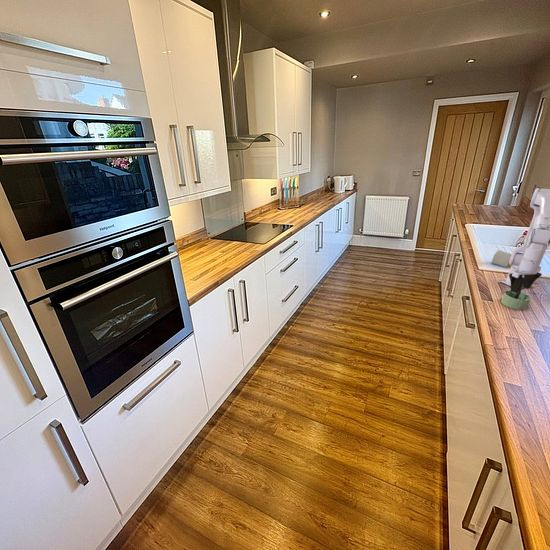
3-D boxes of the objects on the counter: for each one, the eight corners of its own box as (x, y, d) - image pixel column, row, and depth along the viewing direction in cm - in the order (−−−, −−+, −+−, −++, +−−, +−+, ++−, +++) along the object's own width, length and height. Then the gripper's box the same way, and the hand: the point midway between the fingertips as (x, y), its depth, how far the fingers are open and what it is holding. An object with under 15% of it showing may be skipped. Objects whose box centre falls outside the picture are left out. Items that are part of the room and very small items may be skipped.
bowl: (512, 297, 127) (515, 288, 125) (532, 308, 119) (536, 298, 117) (495, 300, 125) (499, 291, 123) (515, 311, 117) (519, 301, 115)
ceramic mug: (507, 269, 152) (512, 256, 149) (490, 264, 158) (494, 251, 155) (514, 264, 158) (519, 251, 155) (497, 260, 164) (502, 247, 161)
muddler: (509, 302, 122) (517, 282, 118) (513, 301, 123) (520, 281, 119) (515, 304, 120) (523, 285, 116) (518, 303, 121) (526, 284, 117)
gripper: (531, 252, 119) (520, 282, 125) (508, 258, 114) (497, 288, 120) (552, 258, 113) (538, 289, 119) (529, 265, 108) (516, 296, 114)
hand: (519, 289), depth 119 cm, fingers open, 7 cm apart
